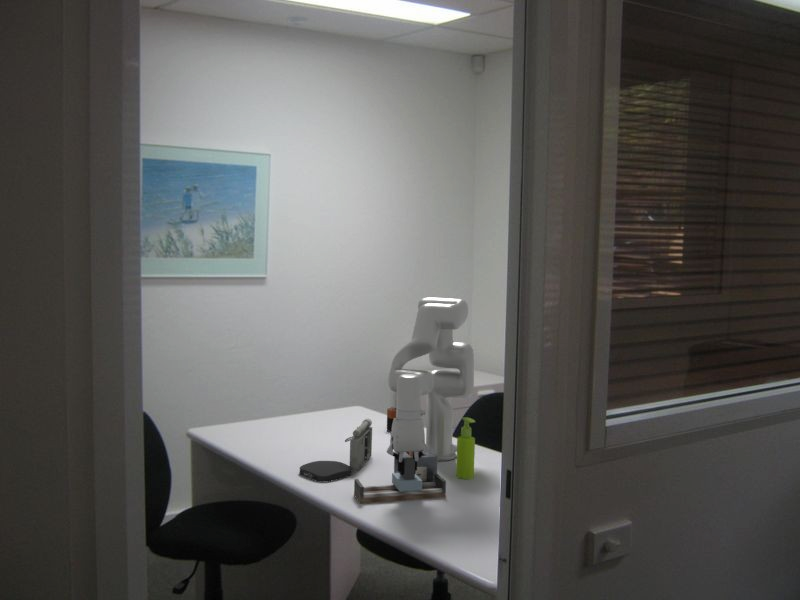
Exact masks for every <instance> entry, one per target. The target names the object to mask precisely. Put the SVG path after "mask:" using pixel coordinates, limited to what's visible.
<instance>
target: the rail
mask: <svg viewBox="0 0 800 600" xmlns="http://www.w3.org/2000/svg"><path fill="white" fill-rule="evenodd" d="M353 484H354V488H353V489H354V490H353V491H354V492H353V493H354V494H353V495H354V496H356V497H355V498H356V500H357V499H358V500H357V501H358V503H359V504H371V503H372V502H373V503H385V502H387V503H388V502H398V501H411V500H412V501H414V500H423V499H424V500H425V499H439V498H440V497H441V498H446V495H447V494H446V490H447V489H446V488H447V481H446V480H445V479H444V477H442V476H440V474H438V473H437V474H435V477H434V482H424V483H422V490H418V491H404V492H400V491H399V490H398V489H397V488H396V487H395V486H394V484H386V485H385V484H384V485H368V486H367V485H366V486H364V485H363V484H362V483H361V481H360V480H359V479H358V478H354V483H353ZM373 503H372V504H373Z"/></svg>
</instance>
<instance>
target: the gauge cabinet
mask: <svg viewBox="0 0 800 600" xmlns="http://www.w3.org/2000/svg"><path fill="white" fill-rule="evenodd" d="M396 453H397V452H396ZM403 455H409V452H404V453H403ZM393 457H394V456H393ZM393 460H394V461H393V473H399V472H398V460H397V459H396V458H395V457H394V459H393ZM415 474H416V475H417V476H418V477H419V478H420V479H421V480H422V483H424V482H434V477H435V474H438V461H437V456H436V455H435V454H434V453H433V452H432V451H431V450H429V451H428V452H426V453H425V454H423V456H421V457H420V458H419V460H418V461H417V471H416V472H415Z"/></svg>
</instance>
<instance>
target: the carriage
mask: <svg viewBox="0 0 800 600" xmlns="http://www.w3.org/2000/svg"><path fill="white" fill-rule="evenodd" d="M403 462H404V474H403V475H401V474H400V473H394V472H393V473H392V474H391V484H392V485H394V486H395V487H396V488H397V489H398V490H399V491H400V492H404V491H418V490H422V480H421V479H420V478H419V477H418V476H417V475H416V474H415V460H414V459H413V458H412V457H411V456H410V455H403Z"/></svg>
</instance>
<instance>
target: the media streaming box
mask: <svg viewBox="0 0 800 600" xmlns="http://www.w3.org/2000/svg"><path fill="white" fill-rule="evenodd" d="M352 472H353V471H352V468H351V467H350V465H348V464H346V463H344V462H341V461H336V460H316V461H312V462H311V461H310V462H308V463H304V464H302V465H301V466H300V467H299V475H301V476H303V477H304V478H307V479H310V480H312V479H313V481H315V480H316V482H319V481H322V482H321V483H324V482H323V481H328V482H332V481H331V480H333V481H337V480H340V478H341V479H344V477H345V478H348V477H350V476H352V474H353V473H352ZM347 476H348V477H347ZM336 479H337V480H336Z"/></svg>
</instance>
